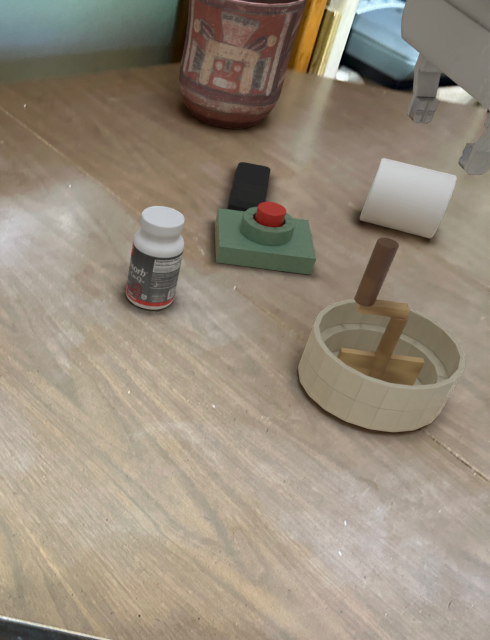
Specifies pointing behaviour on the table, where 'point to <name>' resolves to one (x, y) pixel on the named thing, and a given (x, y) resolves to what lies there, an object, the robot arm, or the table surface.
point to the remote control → (249, 186)
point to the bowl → (370, 393)
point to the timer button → (270, 214)
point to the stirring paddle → (383, 360)
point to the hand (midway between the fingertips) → (442, 144)
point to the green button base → (263, 242)
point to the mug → (408, 198)
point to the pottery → (237, 58)
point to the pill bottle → (156, 258)
